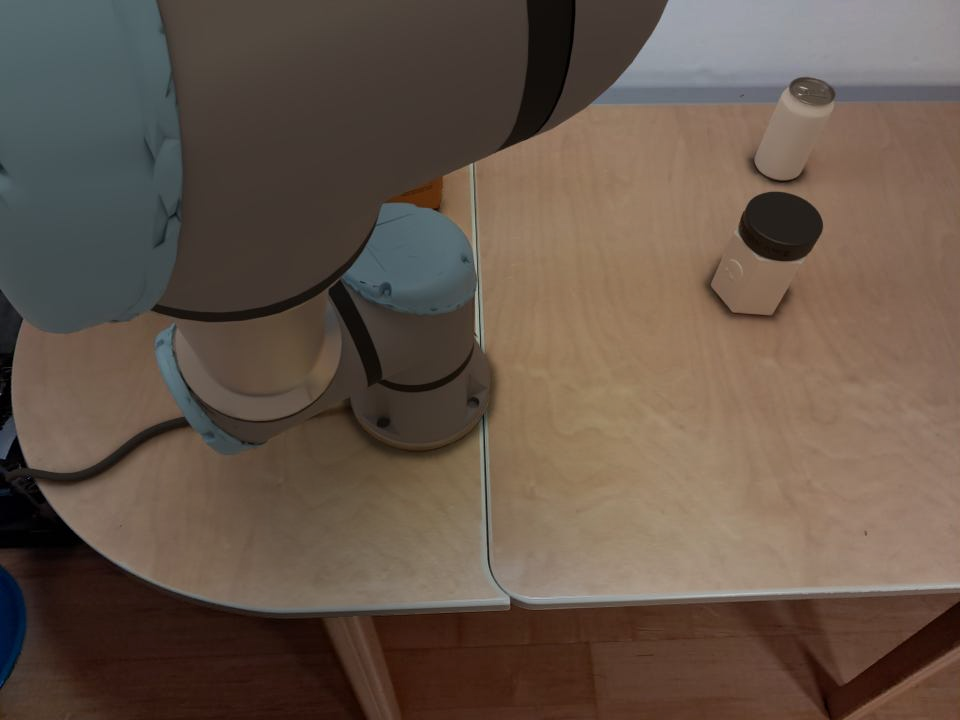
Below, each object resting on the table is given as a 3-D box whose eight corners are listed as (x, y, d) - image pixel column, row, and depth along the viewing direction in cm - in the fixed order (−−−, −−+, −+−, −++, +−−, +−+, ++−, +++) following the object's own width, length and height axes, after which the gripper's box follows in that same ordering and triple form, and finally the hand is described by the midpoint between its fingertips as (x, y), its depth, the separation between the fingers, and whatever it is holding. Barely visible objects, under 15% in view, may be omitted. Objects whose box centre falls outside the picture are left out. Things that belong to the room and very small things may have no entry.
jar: (697, 274, 86) (727, 201, 76) (751, 253, 87) (788, 179, 77) (742, 327, 81) (780, 258, 71) (798, 305, 83) (843, 233, 73)
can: (751, 148, 98) (783, 72, 88) (798, 153, 98) (835, 76, 88) (755, 179, 95) (788, 104, 85) (803, 184, 95) (843, 109, 85)
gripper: (120, 56, 53) (213, 261, 72) (124, -67, 63) (205, 142, 82) (14, 70, 52) (137, 274, 71) (36, -57, 62) (138, 152, 81)
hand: (173, 203), depth 77 cm, fingers closed on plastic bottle, 6 cm apart
